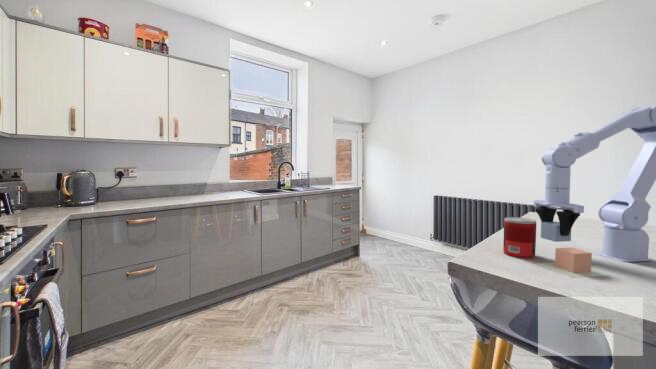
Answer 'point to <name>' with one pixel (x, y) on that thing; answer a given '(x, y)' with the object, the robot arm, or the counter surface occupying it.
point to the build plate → (570, 274)
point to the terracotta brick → (573, 260)
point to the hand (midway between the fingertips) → (555, 233)
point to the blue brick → (553, 232)
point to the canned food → (519, 237)
